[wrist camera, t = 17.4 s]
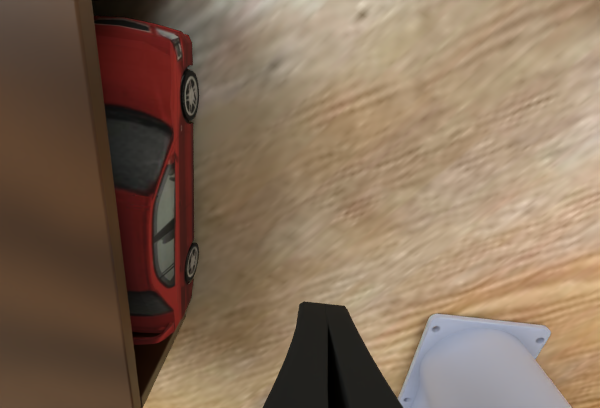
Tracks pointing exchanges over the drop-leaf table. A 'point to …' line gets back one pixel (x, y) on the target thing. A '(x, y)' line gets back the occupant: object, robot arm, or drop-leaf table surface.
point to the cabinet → (62, 223)
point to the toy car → (151, 165)
